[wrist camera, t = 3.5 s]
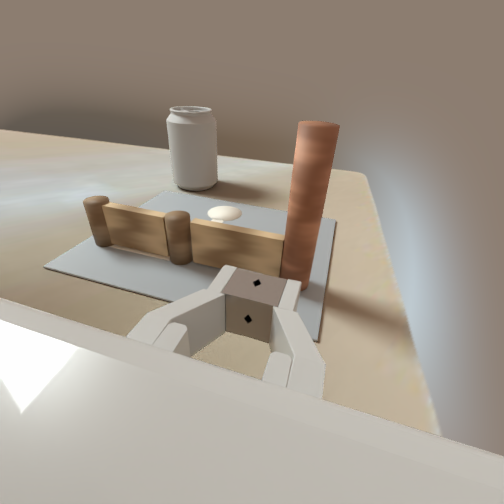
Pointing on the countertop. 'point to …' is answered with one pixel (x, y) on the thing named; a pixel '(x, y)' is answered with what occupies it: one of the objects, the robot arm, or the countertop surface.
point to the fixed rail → (140, 229)
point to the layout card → (192, 274)
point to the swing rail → (297, 225)
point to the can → (193, 147)
